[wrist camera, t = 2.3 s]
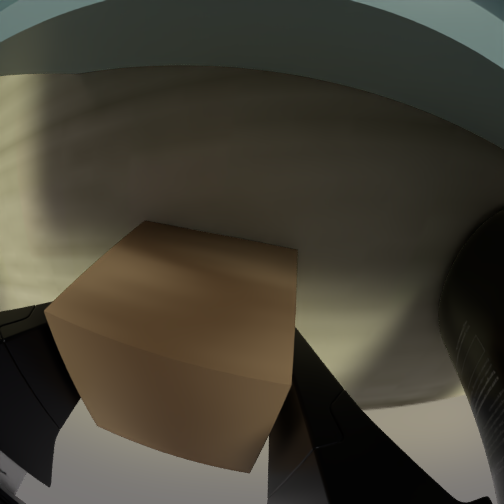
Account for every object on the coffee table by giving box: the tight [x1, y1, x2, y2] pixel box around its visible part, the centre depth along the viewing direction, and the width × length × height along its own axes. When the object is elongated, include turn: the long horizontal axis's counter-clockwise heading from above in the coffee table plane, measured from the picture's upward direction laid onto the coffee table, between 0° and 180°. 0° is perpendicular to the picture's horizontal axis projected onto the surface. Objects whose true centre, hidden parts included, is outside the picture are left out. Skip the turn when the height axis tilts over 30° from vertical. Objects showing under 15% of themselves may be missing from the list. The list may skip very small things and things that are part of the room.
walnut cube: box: [44, 221, 298, 473], centre depth 8 cm, size 5×5×5 cm
